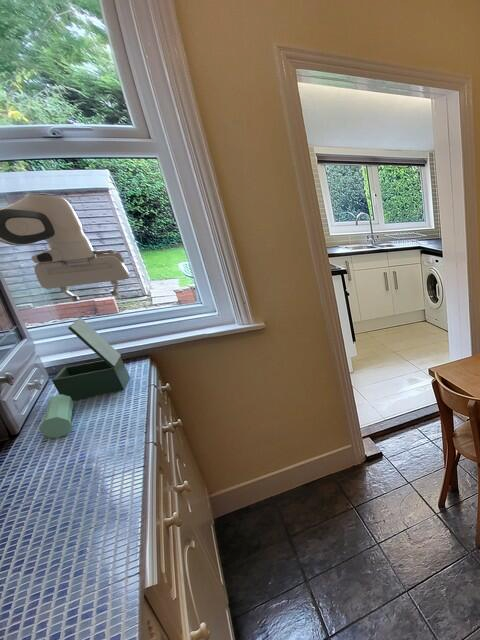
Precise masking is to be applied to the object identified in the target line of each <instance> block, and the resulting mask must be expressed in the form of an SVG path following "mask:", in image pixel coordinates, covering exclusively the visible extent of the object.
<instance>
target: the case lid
mask: <svg viewBox="0 0 480 640" xmlns="http://www.w3.org/2000/svg"><path fill="white" fill-rule="evenodd" d="M67 329H68V330H69V331H71V333H72V334H74V335H75V337H77V338H78V339H79V340H80V341H81V342H82V343H83V344H85V345H86V346H87V347H89V349H90V350H91V351H92V352H94V353H95V354H96V355H97V356H98V357H99V358H100V359H101V360H104V361H105V362H106V363H107V364H108V365H109V366H111V367H114V366H115V365H116V363H117V361H118V360H119V358H120V357H121V356H122V354H120V352H118V351H117V350H116V349H115V348H114V346H112V345H111V344H110V343H109V342H108V341H107V340H106V339H104V337H102V335H100V334H99V333H98V332H97V331H96V330H95V329H94V328H93V327H92V326H91V325H90V324H88V323H87V322H86V321H85V320H84V319H83V318H82V317H79V318H78V319H76V320H75V321H74V322H73V323H72V324H70V325H69V326H68V327H67Z"/></svg>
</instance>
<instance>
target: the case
mask: <svg viewBox="0 0 480 640" xmlns="http://www.w3.org/2000/svg"><path fill="white" fill-rule="evenodd" d="M130 379H131V376H130V374H129V372H128V370H127V368H126V365H125V363H124V361H123V359H122V357H121V356H120V358H119V360H118V361H117V363H116V365H115V366H114V367H111V366H109V365H108V364H107V363H106V362H105V361H104V360H103V359H101V360H97V361H92V362H86V363H80V364H75V365H70V366H64V367H62V369H60V371H59V372H58V373H57V374H56V375H55V376H54V377H53V378H52V380H51V382H52V383H53V385H54V388H55V389H56V390H57V393H58V395H61V394H63V395H66V396H69V397H71V399H72V401H73V402H75V401H79V400H84V399H89V398H93V397H98V396H102V395H109V394H112V393H117V392H122V391H125V389H126V387H127V386H128V383H129V381H130Z"/></svg>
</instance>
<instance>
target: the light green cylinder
mask: <svg viewBox="0 0 480 640" xmlns="http://www.w3.org/2000/svg"><path fill="white" fill-rule="evenodd" d="M73 408H74V401H72V399H71V397H69V396H66V395H63V394H61V395H60V394H58V395H53V396H52V397H51V398H50V400H49V401H48V403H47V407H46V411H45V414H44V418H43V421H42V423H41V424H40V425H39V427H38V428H39V430H40V432H41V434H42V435H43V436H44V437H48V438H53V439H58V438H61V437H64V436H68V435H69V433H70V431H71V430H72V429H73V424H72V416H73V410H74V409H73Z"/></svg>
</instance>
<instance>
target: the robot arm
mask: <svg viewBox="0 0 480 640" xmlns="http://www.w3.org/2000/svg"><path fill="white" fill-rule="evenodd" d="M41 241H45V242H46V243H47V245H48V247H49V249H45V250H42V252H39V253H36V254H34V255H32V256H31V260H32V261H33V263H35V265H34V267H33V268H34V273H35V276H36V278H37V281H38V283H39V285H40V287H42V288H44V289H46V290H50V289H60V291H61V292H63V293H64V294H65V295H67V297H70V299H71V302H73V303H75V302H80V301H81V299H80V297H79V295H78V294H73V293H72V292H71V291H69V290H70V287H75V286H82V285H83V286H84V285H91V284H99V283H108V282H110V283H111V285H112V286H113V289H110V294H111V296H112V297H116V296H117V297H118V296H120V293H119V289H118V288H119V284H120V282H119V281H125V280H128V279H129V278H130V276H131V274H130V271H129V270H128V268H127V266H126V264H125V263H124V262H125V259H124V256H123V254H122V253H121V252H120V251H118V250H114V249H112V248H109V249H99V250H94V248H93V246H92V244H91V242H90V239H89V238H88V236H87V235H86V234H85V233H84V231H83V225H82V222H81V221H80V219H79V217H78V215H77V213H76V212H75V210H74V208H73V206H72V205H71V203H70V202H69V201H68V200H67V199H66V198H64V197H62V196H60V195H57V194H52V193H40V192H29V193H27V194H26V195H25V196H24V197H22V198H21V199H20V200H18V201H16V202H14V203H11V204H9V205H7V206H4V207H0V243H3V244H6V245H10V246H18V247H19V246H20V247H21V246H22V247H23V246H30V245H32V244H33V245H34V244H36V243H38V242H41Z"/></svg>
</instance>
